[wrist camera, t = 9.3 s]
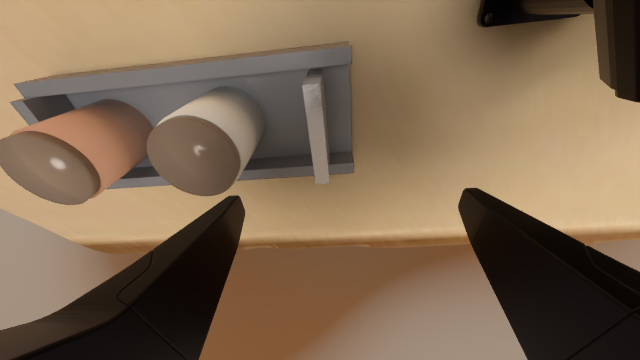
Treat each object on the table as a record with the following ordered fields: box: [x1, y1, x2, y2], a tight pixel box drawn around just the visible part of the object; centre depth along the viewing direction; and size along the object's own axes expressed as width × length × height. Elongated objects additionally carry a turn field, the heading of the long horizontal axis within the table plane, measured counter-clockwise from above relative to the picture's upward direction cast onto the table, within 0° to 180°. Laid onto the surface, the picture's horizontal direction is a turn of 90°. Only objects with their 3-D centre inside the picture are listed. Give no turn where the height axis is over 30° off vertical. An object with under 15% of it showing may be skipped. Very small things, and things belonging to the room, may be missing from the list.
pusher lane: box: [10, 42, 354, 189], centre depth 19 cm, size 24×10×4 cm, turn 96°
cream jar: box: [147, 86, 265, 196], centre depth 17 cm, size 6×6×7 cm
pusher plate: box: [302, 68, 330, 184], centre depth 17 cm, size 1×7×5 cm, turn 6°
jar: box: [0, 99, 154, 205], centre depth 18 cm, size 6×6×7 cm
